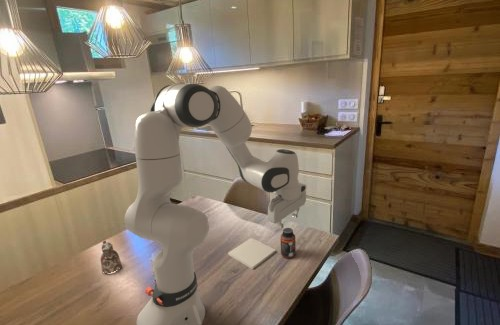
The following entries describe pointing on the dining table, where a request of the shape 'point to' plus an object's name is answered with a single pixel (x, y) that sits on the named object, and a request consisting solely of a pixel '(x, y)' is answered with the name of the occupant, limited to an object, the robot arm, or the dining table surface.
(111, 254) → the figurine
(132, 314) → the dining table surface
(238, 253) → the plate
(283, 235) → the supplement bottle
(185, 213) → the robot arm
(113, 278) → the dining table surface
